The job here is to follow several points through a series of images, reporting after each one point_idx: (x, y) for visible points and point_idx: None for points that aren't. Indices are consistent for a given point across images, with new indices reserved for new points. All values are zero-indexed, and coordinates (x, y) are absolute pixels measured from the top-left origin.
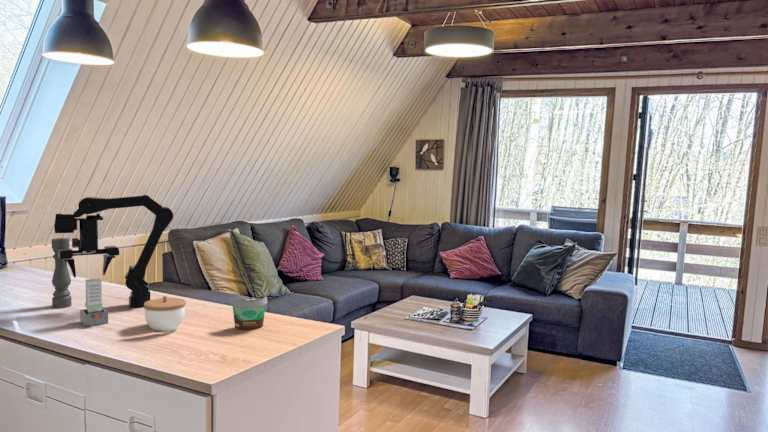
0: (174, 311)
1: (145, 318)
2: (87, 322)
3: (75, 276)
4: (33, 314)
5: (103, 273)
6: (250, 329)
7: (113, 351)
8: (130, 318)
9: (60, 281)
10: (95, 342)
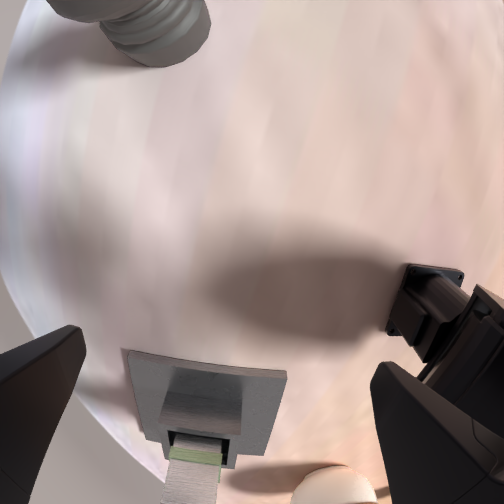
0: None
1: (291, 501)
2: None
3: (80, 364)
4: (45, 135)
5: (372, 402)
6: None
7: None
8: (326, 398)
9: (73, 15)
10: None
